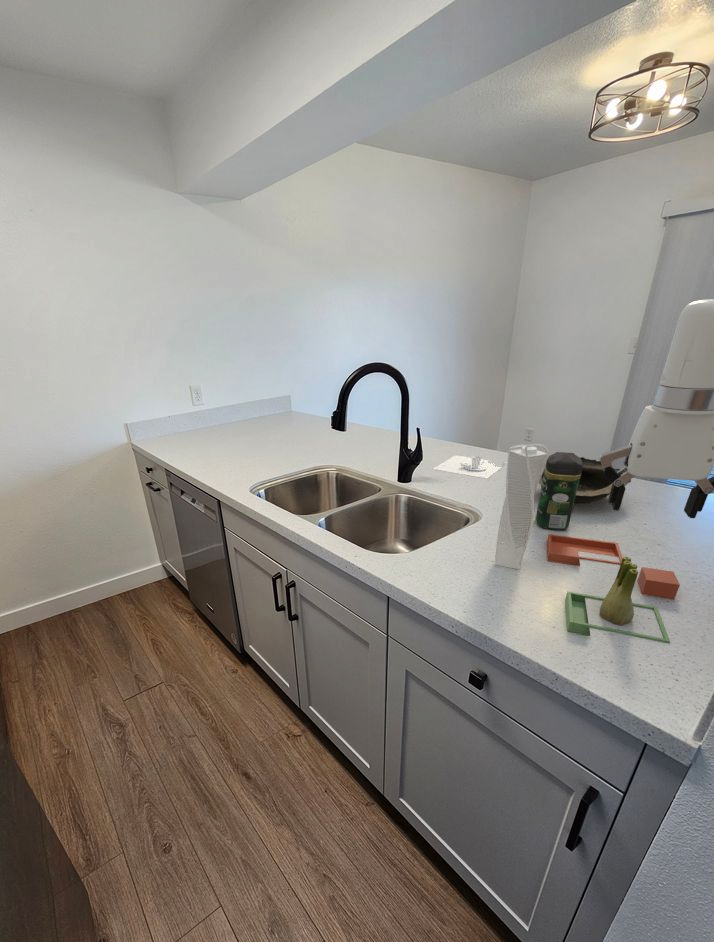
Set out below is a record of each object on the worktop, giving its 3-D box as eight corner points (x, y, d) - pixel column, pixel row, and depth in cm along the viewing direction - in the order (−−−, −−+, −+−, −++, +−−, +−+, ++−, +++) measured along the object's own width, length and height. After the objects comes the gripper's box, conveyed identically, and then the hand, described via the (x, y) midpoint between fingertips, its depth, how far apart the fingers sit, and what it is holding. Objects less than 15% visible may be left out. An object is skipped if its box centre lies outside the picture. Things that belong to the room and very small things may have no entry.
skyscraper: (524, 574, 94) (550, 446, 81) (488, 566, 97) (507, 443, 85) (528, 557, 100) (552, 436, 87) (493, 551, 103) (512, 434, 91)
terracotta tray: (615, 550, 101) (617, 542, 100) (621, 572, 92) (624, 564, 91) (546, 541, 106) (548, 533, 105) (547, 561, 98) (549, 553, 97)
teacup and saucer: (457, 469, 158) (459, 458, 156) (466, 463, 163) (467, 452, 161) (481, 473, 153) (483, 461, 151) (490, 467, 158) (491, 456, 156)
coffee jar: (534, 514, 120) (547, 448, 112) (566, 518, 117) (582, 450, 109) (534, 529, 112) (549, 459, 104) (569, 533, 109) (587, 461, 101)
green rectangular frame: (653, 616, 79) (657, 606, 78) (666, 651, 71) (670, 641, 70) (565, 600, 85) (567, 591, 84) (567, 631, 77) (570, 621, 76)
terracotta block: (665, 593, 85) (673, 571, 83) (671, 607, 81) (680, 585, 79) (634, 588, 87) (641, 566, 85) (638, 601, 83) (646, 579, 81)
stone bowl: (600, 482, 138) (609, 454, 133) (636, 520, 117) (648, 489, 112) (517, 480, 142) (523, 453, 137) (538, 517, 121) (546, 486, 117)
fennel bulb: (603, 608, 81) (620, 552, 76) (634, 619, 78) (655, 561, 72) (592, 622, 78) (610, 564, 72) (624, 634, 74) (645, 575, 69)
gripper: (758, 395, 60) (712, 508, 68) (611, 393, 67) (585, 496, 75) (782, 405, 54) (729, 528, 62) (618, 402, 61) (589, 513, 69)
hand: (650, 510), depth 69 cm, fingers open, 9 cm apart
